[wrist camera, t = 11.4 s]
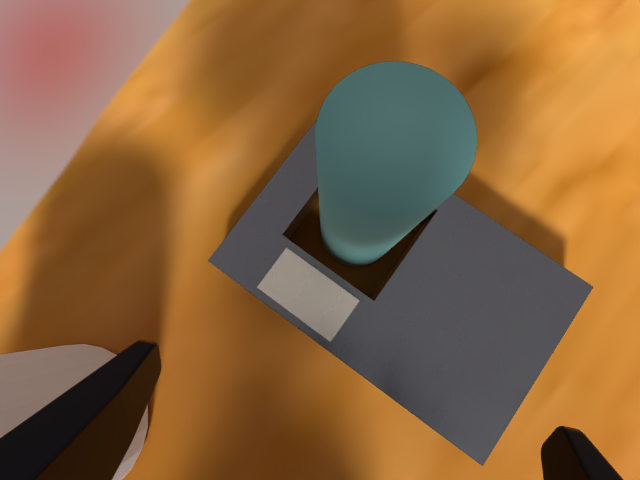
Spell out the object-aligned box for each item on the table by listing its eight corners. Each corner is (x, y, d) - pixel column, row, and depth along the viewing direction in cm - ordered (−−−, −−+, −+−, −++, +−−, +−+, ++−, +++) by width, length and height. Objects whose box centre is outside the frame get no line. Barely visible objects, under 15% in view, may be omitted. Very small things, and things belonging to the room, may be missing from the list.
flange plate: (463, 447, 21) (484, 468, 18) (220, 265, 23) (206, 260, 20) (563, 289, 22) (596, 286, 20) (325, 128, 24) (325, 105, 21)
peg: (403, 249, 23) (506, 173, 10) (338, 278, 23) (356, 240, 10) (373, 186, 23) (432, 38, 11) (309, 213, 23) (289, 97, 10)
